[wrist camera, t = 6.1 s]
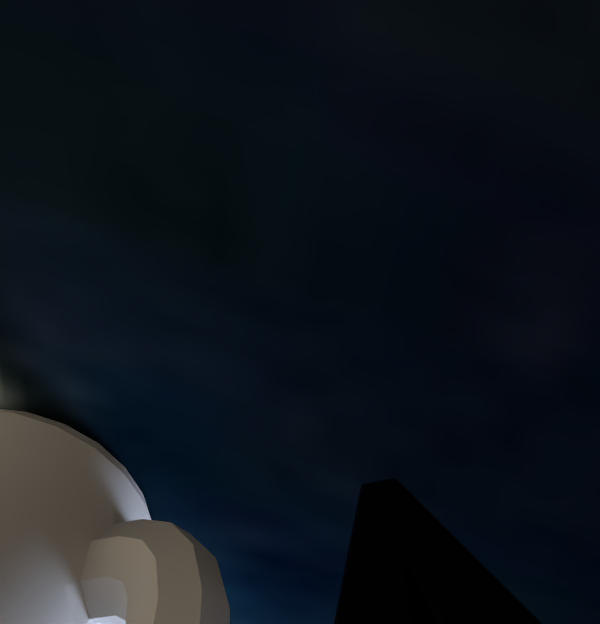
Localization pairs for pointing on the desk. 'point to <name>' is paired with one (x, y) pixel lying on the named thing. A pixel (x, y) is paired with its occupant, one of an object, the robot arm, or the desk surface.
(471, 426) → the desk surface
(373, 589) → the robot arm
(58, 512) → the cup
